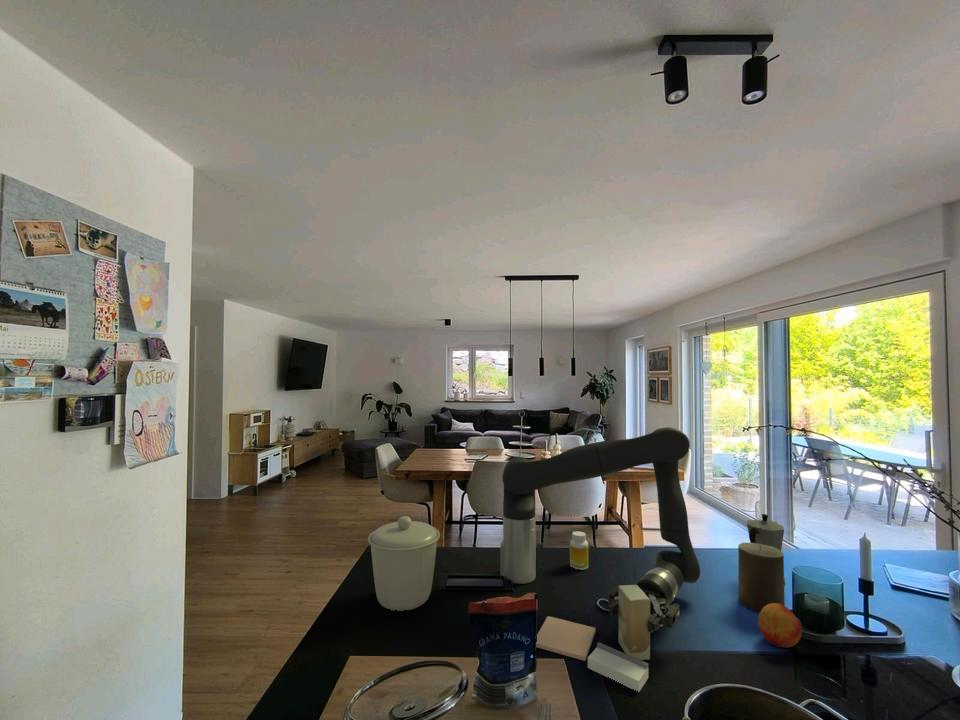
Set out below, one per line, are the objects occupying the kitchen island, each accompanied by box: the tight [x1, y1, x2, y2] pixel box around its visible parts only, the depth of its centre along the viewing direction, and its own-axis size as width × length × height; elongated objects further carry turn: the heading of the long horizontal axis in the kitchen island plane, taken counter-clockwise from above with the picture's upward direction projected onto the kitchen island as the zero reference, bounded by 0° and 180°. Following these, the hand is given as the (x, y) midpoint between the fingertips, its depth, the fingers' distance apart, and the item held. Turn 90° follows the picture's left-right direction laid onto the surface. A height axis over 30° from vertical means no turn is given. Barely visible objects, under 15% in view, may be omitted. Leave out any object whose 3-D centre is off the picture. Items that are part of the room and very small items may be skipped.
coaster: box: [535, 615, 596, 662], centre depth 93 cm, size 11×11×1 cm
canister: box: [367, 515, 441, 612], centre depth 109 cm, size 18×18×21 cm
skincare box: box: [617, 584, 651, 661], centre depth 89 cm, size 6×4×12 cm
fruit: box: [757, 603, 803, 649], centre depth 92 cm, size 8×8×8 cm
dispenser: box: [587, 642, 650, 693], centre depth 83 cm, size 10×5×3 cm, turn 50°
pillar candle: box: [737, 542, 786, 614], centre depth 108 cm, size 10×10×15 cm
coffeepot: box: [746, 513, 786, 585], centre depth 121 cm, size 15×9×18 cm, turn 125°
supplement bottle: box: [569, 531, 589, 571], centre depth 129 cm, size 5×5×10 cm
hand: (629, 620), depth 88 cm, fingers open, 7 cm apart
